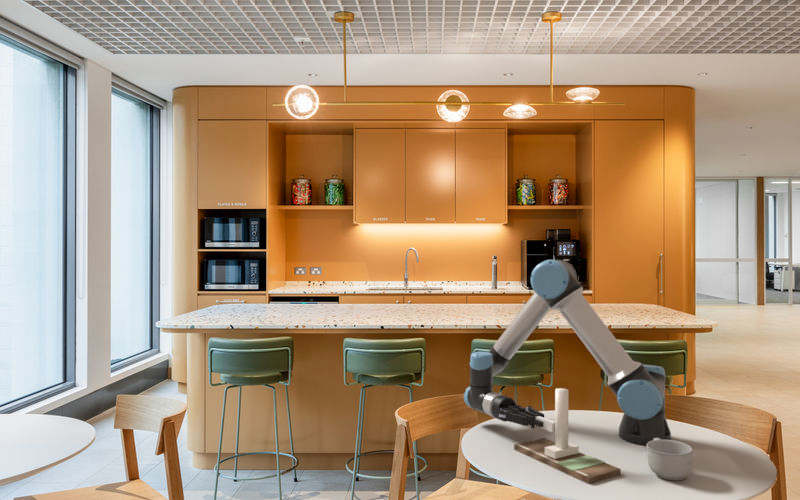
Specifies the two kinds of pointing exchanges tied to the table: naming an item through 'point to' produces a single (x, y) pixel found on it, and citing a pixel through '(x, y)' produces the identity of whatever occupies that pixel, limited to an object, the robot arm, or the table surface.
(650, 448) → the teacup
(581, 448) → the table surface
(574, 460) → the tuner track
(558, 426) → the tuning slider
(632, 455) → the table surface
